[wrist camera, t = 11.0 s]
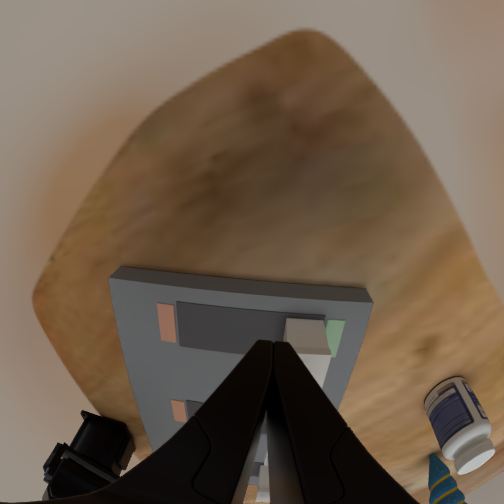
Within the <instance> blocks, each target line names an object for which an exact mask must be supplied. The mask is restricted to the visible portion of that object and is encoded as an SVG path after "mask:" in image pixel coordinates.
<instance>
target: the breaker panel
mask: <svg viewBox="0 0 504 504" xmlns="http://www.w3.org/2000/svg"><path fill="white" fill-rule="evenodd" d="M108 279H109V285H110V292H111V298H112V303H113V309H114V314H115V319H116V324H117V329H118V334H119V339H120V343H121V347H122V352H123V356H124V360H125V364H126V368H127V372H128V375H129V379H130V383H131V386H132V390H133V393H134V397H135V400H136V403H137V406H138V410H139V413H140V416H141V419H142V422H143V425H144V428H145V431H146V434H147V436H148V439H149V442H150V445H151V447H152V450H153V452H155V451H156V450H157V449H158V448H160V447H161V446H162V445H163V444H164V443H165V442H167V441H168V440H169V439H170V438H171V437H172V436H173V435H174V434H175V433H176V432H177V431H178V430H179V429H180V428H181V427H182V426H183V425H184V424H185V423H186V422H187V421H188V420H189V419H190V417H191V416H194V413H195V412H196V411H197V410H198V409H199V408H200V407H201V405H202V404H203V403H204V402H205V401H206V400H207V399H208V398H209V396H210V395H211V394H212V393H213V392H214V391H215V390H216V388H217V387H218V386H219V385H220V384H221V383H222V381H223V380H224V379H225V378H226V377H227V376H228V374H229V373H230V372H231V371H232V370H233V369H234V367H235V366H236V365H237V364H238V363H239V361H240V360H241V359H242V358H243V357H244V355H245V354H246V353H247V352H248V351H249V349H250V348H251V347H252V346H253V345H254V343H255V342H256V341H257V340H259V339H262V340H271V341H273V343H274V341H283V338H284V332H285V325H286V318H294V319H309V320H323V322H324V327H325V331H326V336H327V341H328V346H329V349H330V350H331V354H332V356H331V359H330V363H329V366H328V370H327V373H326V377H325V380H324V383H323V387H322V390H323V391H324V392H325V394H326V395H327V397H328V398H329V399H330V401H331V402H332V404H333V405H334V406H335V408H336V409H337V410H338V408H339V405H340V403H341V400H342V398H343V395H344V392H345V390H346V387H347V384H348V382H349V379H350V376H351V373H352V371H353V368H354V365H355V362H356V359H357V356H358V353H359V350H360V347H361V344H362V341H363V337H364V334H365V331H366V328H367V324H368V321H369V317H370V314H371V310H372V307H373V301H372V299H371V297H370V295H369V293H368V291H367V290H366V289H361V288H346V287H332V286H318V285H304V284H292V283H280V282H268V281H256V280H245V279H234V278H224V277H213V276H203V275H193V274H184V273H174V272H165V271H156V270H147V269H139V268H130V267H122V266H121V267H119V268H118V269H117V270H116V271H115V272H114V273H113V274H112V275H111V276H110V277H109V278H108ZM266 438H267V432H266V415H265V420H264V425H263V429H262V433H261V437H260V441H259V445H258V449H257V453H256V457H255V460H254V464H253V468H252V472H251V475H250V479H249V483H248V485H258V476H259V471H260V466H261V465H264V460H265V453H266Z"/></svg>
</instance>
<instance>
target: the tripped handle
mask: <svg viewBox="0 0 504 504" xmlns="http://www.w3.org/2000/svg"><path fill="white" fill-rule="evenodd" d="M283 341H286V342H289V343H290V344H291V345H292V347H293V348H294V350H295V351H296V353H297V354H298V355H299V357H300V358H301V360H302V361H303V363H304V364H305V366H306V367H307V368H308V370H309V371H310V373H311V374H312V375H313V377H314V378H315V380H316V381H317V383H318V384H319V385H320V387H321V388H322V387H323V383H324V380H325V377H326V373H327V370H328V366H329V363H330V359H331V356H332V354H331V350H330V349H329V346H328V341H327V336H326V331H325V327H324V322H323V320H309V319H294V318H286V325H285V332H284V338H283Z"/></svg>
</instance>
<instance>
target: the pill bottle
mask: <svg viewBox="0 0 504 504" xmlns="http://www.w3.org/2000/svg"><path fill="white" fill-rule="evenodd" d="M424 406H425V410H426V413H427V415H428V418H429V420H430V422H431V425H432V427H433V430H434V433H435V435H436V438H437V440H438V443H439V446H440V448H441V452H442V454H443V456H444V457H445V458H446V459H449V460H454V459H455V461H454V466H455V468H456V471H457V473H458V474H459V475H462V474H466V473H468V472H471V471H473V470H474V469H476V468H478V467H479V466H481V465H482V464H484V463H485V462H486V461H487V460H489V459H490V458H491V457H492V456H493V454H494V453H495V448H494V446H493V443H492V441H491V440H490V439H487V438H488V437H489V435H490V433H491V423H490V421H489V419H488V417H487V416H486V414H485V412H484V410H483V408H482V406H481V405H480V403H479V401H478V399H477V398H476V396H475V394H474V392H473V391H472V389H471V387H470V386H469V384H468V383H467V381H466V380H465V379H464V378H462V377H455V378H451V379H448V380H446V381H444V382H442V383H441V384H439V385H438V386H436V387H435V388H434V389H433V390H432V391H431V393H430V394H429V395H428V397H427V398H426V401H425V405H424Z"/></svg>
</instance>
